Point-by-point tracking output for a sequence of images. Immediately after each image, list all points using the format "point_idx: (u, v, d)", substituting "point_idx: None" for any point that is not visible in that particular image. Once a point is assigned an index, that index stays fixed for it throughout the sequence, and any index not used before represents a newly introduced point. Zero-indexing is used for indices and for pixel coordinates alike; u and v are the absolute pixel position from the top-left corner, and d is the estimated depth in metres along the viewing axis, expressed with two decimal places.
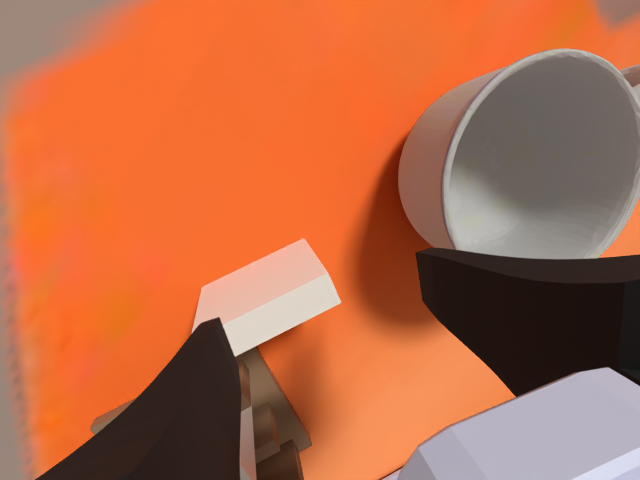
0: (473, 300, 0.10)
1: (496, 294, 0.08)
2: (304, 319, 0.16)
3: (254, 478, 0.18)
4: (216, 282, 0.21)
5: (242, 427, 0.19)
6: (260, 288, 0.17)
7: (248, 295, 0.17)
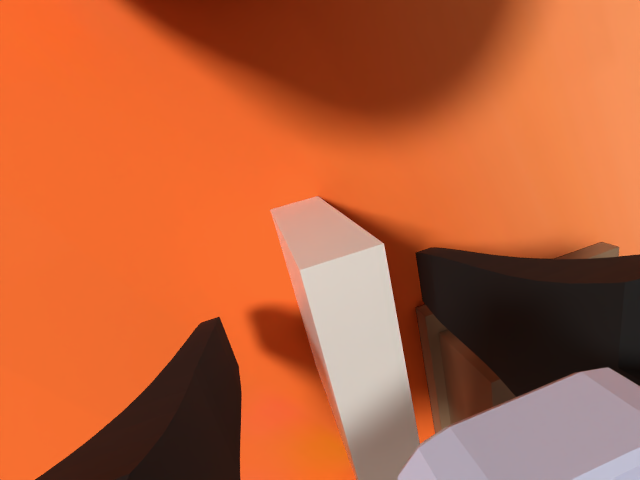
0: (473, 300, 0.09)
1: (496, 294, 0.08)
2: (394, 325, 0.08)
3: None
4: (311, 350, 0.14)
5: None
6: (317, 351, 0.09)
7: (324, 374, 0.10)
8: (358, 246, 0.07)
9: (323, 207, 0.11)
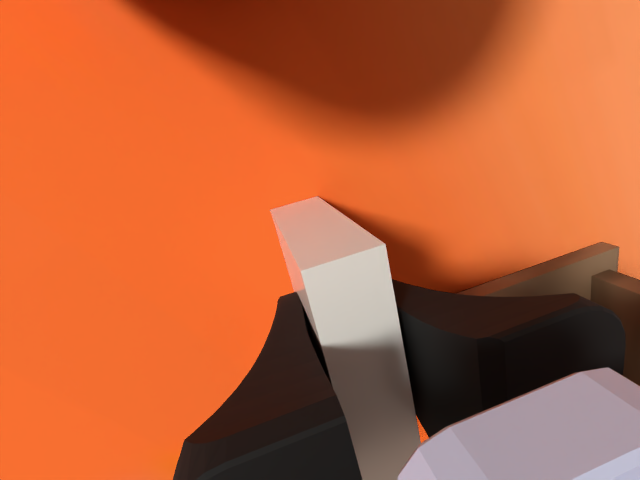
0: None
1: (401, 329, 0.08)
2: (395, 326, 0.07)
3: None
4: None
5: None
6: (318, 352, 0.09)
7: None
8: (359, 247, 0.07)
9: (323, 207, 0.11)
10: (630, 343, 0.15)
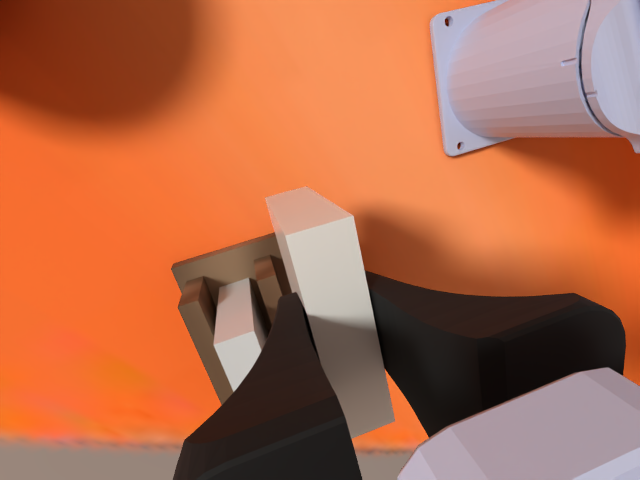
0: (388, 331, 0.09)
1: (401, 329, 0.08)
2: (363, 284, 0.09)
3: (248, 328, 0.15)
4: None
5: (222, 313, 0.17)
6: None
7: None
8: (333, 218, 0.09)
9: (310, 194, 0.12)
10: None
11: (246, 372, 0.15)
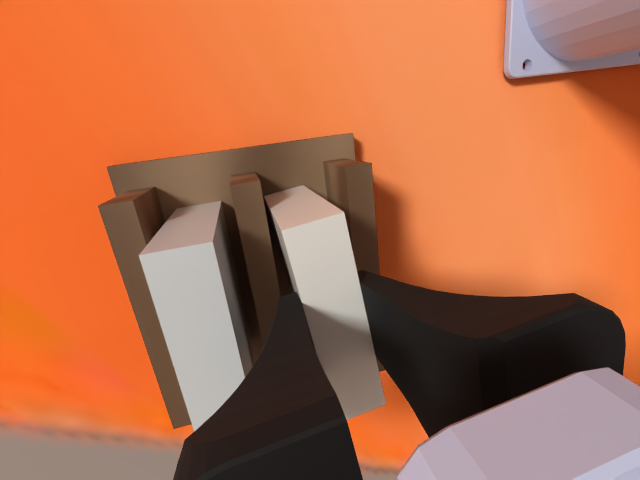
0: (388, 331, 0.09)
1: (401, 329, 0.08)
2: (354, 276, 0.10)
3: (203, 240, 0.09)
4: None
5: (169, 227, 0.11)
6: None
7: None
8: (325, 214, 0.09)
9: (306, 192, 0.13)
10: None
11: (192, 314, 0.09)
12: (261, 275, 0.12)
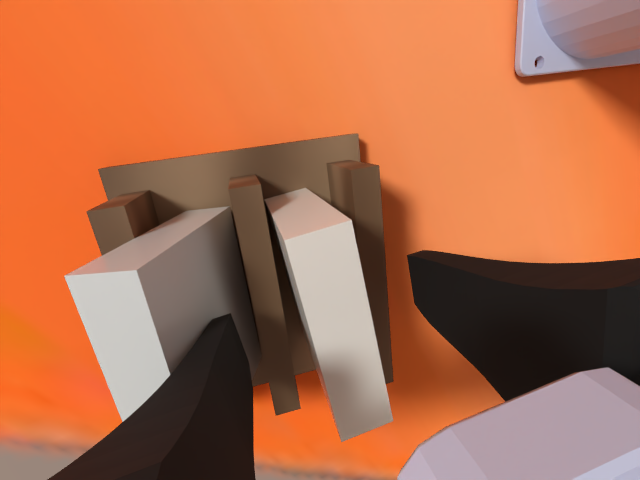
0: (463, 304, 0.09)
1: (485, 298, 0.08)
2: (362, 287, 0.09)
3: (134, 265, 0.08)
4: (301, 325, 0.16)
5: (142, 237, 0.10)
6: (302, 316, 0.11)
7: (308, 336, 0.11)
8: (331, 222, 0.09)
9: (309, 196, 0.12)
10: None
11: (123, 344, 0.08)
12: (261, 284, 0.12)
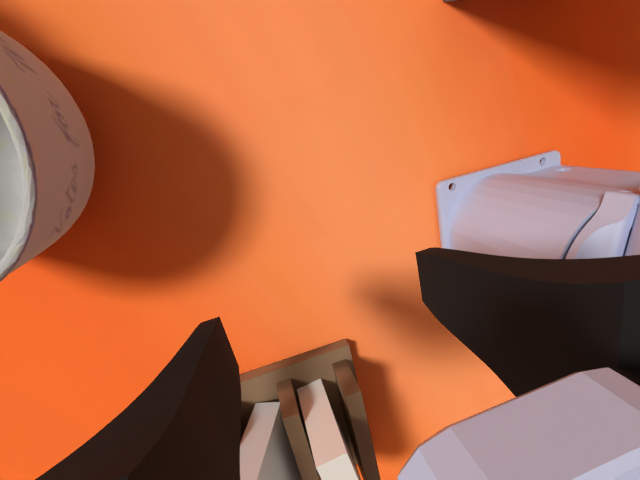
0: (473, 300, 0.10)
1: (496, 294, 0.08)
2: (355, 476, 0.19)
3: None
4: None
5: (242, 449, 0.20)
6: None
7: None
8: (337, 452, 0.18)
9: (323, 398, 0.22)
10: (346, 411, 0.23)
11: None
12: (302, 456, 0.21)
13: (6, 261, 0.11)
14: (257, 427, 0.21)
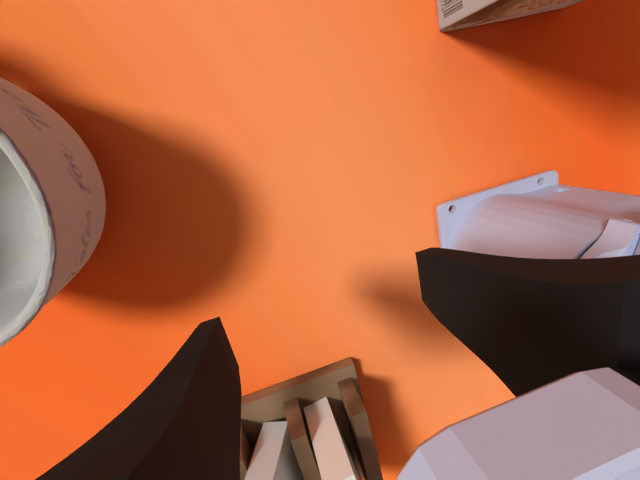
0: (473, 300, 0.10)
1: (496, 294, 0.08)
2: None
3: None
4: None
5: (251, 470, 0.20)
6: None
7: None
8: (344, 473, 0.19)
9: (330, 418, 0.23)
10: (352, 429, 0.23)
11: None
12: (310, 475, 0.22)
13: (28, 312, 0.12)
14: (266, 447, 0.22)
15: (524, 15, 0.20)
